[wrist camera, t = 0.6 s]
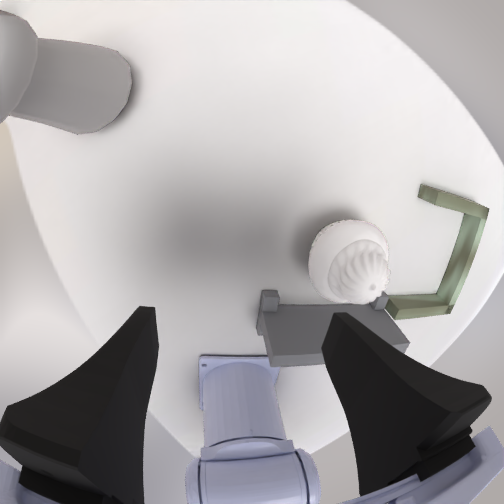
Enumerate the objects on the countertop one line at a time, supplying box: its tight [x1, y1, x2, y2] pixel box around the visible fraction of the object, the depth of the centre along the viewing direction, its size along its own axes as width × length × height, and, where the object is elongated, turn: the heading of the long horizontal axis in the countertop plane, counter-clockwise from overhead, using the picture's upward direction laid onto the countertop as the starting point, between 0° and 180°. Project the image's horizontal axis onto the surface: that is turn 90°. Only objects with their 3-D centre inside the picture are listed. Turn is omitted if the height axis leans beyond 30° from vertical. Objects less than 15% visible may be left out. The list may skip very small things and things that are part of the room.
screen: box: [256, 290, 410, 367], centre depth 21 cm, size 4×12×6 cm, turn 83°
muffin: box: [308, 219, 390, 305], centre depth 18 cm, size 6×6×7 cm
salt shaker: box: [0, 15, 132, 135], centre depth 8 cm, size 6×6×13 cm
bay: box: [385, 184, 489, 320], centre depth 22 cm, size 12×9×2 cm
